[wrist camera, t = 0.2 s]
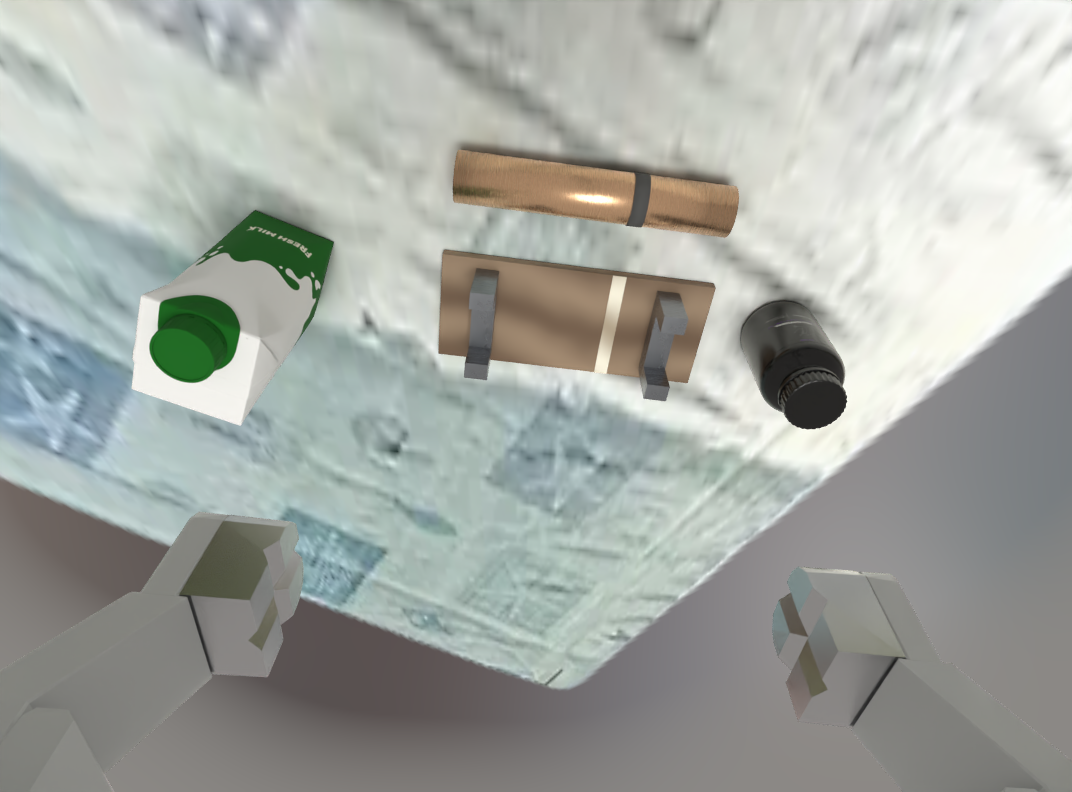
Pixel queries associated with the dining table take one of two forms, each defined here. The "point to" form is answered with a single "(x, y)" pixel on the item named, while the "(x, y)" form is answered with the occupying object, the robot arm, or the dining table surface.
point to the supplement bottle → (795, 364)
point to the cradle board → (569, 314)
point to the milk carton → (230, 318)
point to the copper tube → (594, 194)
